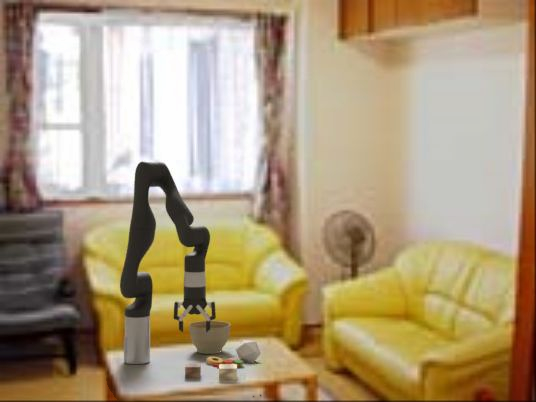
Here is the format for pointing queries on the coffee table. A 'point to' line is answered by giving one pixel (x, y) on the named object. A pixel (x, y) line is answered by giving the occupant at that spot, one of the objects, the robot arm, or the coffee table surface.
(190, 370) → the walnut cube
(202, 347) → the planter bowl
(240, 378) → the board
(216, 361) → the toy food set
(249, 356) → the die
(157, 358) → the coffee table surface
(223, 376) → the beech block
